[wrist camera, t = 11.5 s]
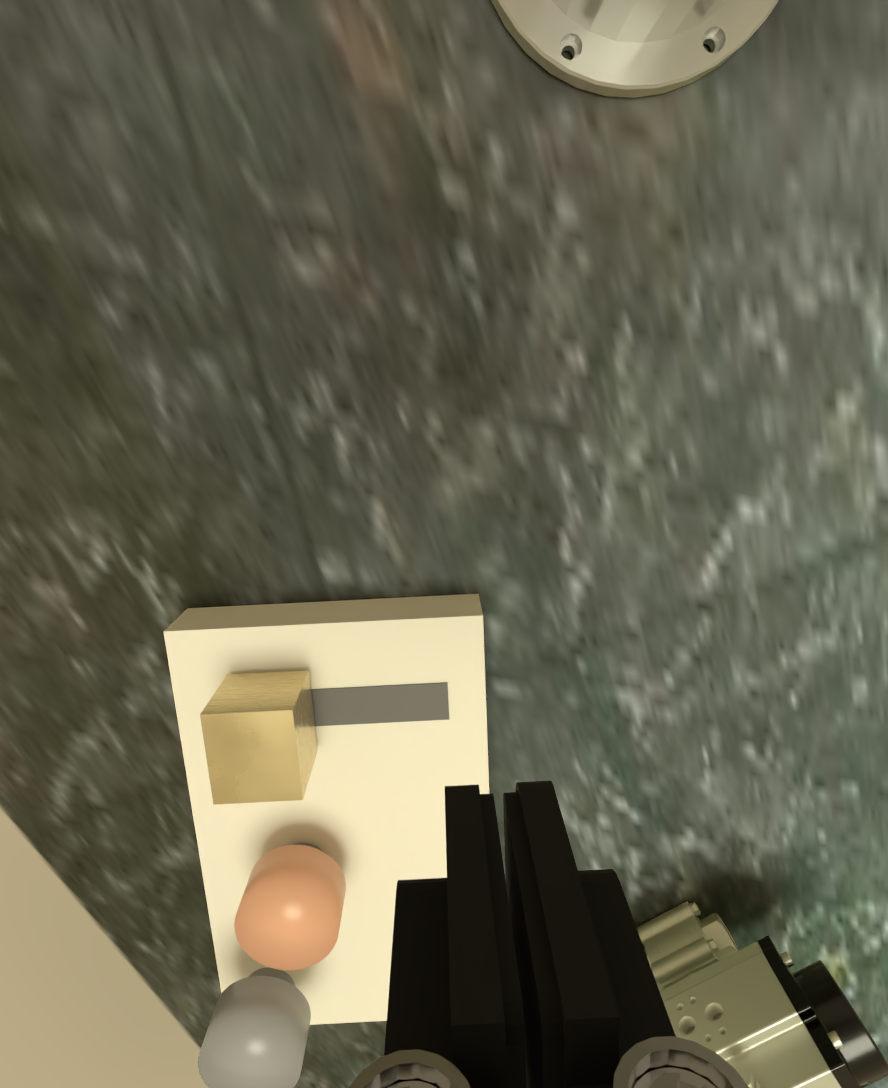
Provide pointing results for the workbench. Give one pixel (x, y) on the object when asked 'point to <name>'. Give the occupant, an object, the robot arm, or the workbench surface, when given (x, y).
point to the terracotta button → (291, 907)
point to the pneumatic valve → (757, 1006)
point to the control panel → (341, 765)
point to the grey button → (256, 1033)
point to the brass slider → (260, 737)
